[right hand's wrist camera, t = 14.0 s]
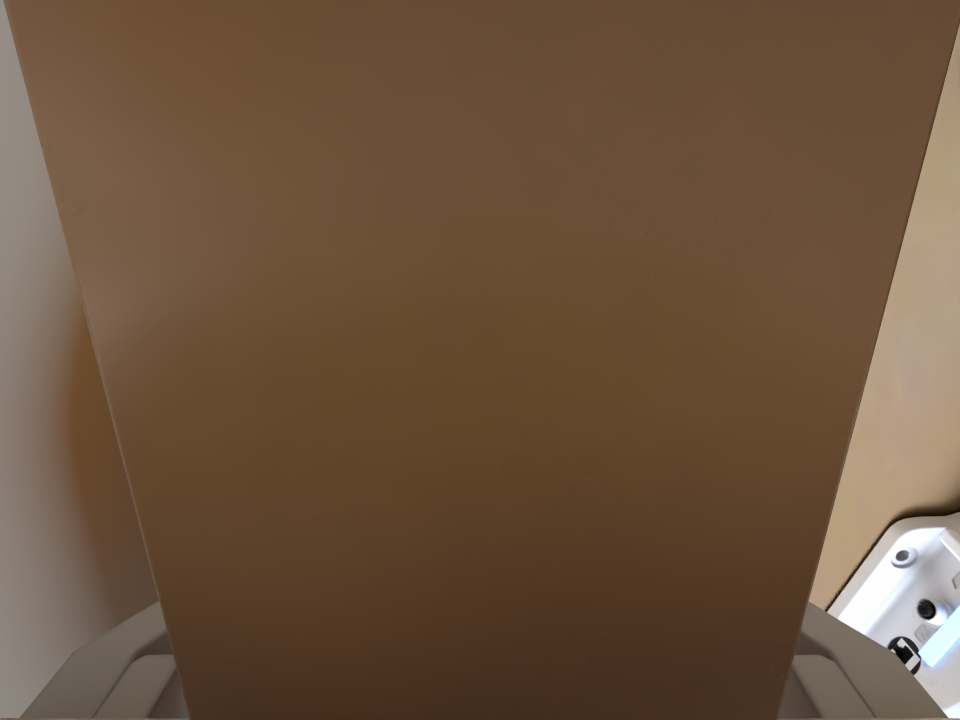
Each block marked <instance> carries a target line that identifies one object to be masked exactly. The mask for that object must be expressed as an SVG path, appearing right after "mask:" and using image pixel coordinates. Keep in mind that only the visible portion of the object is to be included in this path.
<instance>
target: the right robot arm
mask: <svg viewBox="0 0 960 720" xmlns="http://www.w3.org/2000/svg"><path fill="white" fill-rule="evenodd" d="M0 720H190V718H189V714H188V710H187V707H186V703H185V699H184V695H183V691H182V687H181V683H180V680H179V676H178V672H177V668H176V664H175V660H174V656H173V652H172V649H171V645H170V641H169V637H168V633H167V629H166V625H165V622H164V618H163V614H162V610H161V606H160V602H159V601H158V602H156V603H155V604H153V605H151V606H149V607H148V608H146V609H145V610H143V611H141V612H140V613H138V614H136V615H135V616H133V617H131V618H130V619H128V620H126V621H125V622H123V623H121V624H120V625H118V626H116V627H115V628H113V629H111V630H110V631H108V632H106V633H105V634H103V635H101V636H100V637H98V638H96V639H95V640H93V641H91V642H90V643H88V644H86V645H85V646H83V647H81V648H80V649H78V650H76V651H75V652H73V653H72V655H71V656H70V657H69V658H68V660H67V661H66V662H65V663H64V664H63V666H62V667H61V668H60V669H59V671H58V672H57V673H56V674H55V675H54V677H53V678H52V679H51V680H50V681H49V683H48V684H47V685H46V686H45V688H44V689H43V690H42V691H41V693H40V694H39V695H38V696H37V697H36V699H35V700H34V701H33V702H32V703H31V705H30V706H29V707H28V708H27V710H26V711H25V712H24V713H23V714H22V716H21V717H20V718H0ZM778 720H960V512H958V513H955V514H951V515H947V516H926V517H912V518H906V519H903V520H900V521H898V522H896V523H894V524H893V525H892V526H890V528H889V529H888V530H887V531H886V532H885V534H884V535H883V537H882V538H881V539H880V541H879V542H878V543H877V545H876V546H875V547H874V549H873V550H872V551H871V553H870V554H869V556H868V557H867V558H866V560H865V561H864V562H863V564H862V565H861V566H860V568H859V569H858V571H857V572H856V573H855V575H854V576H853V577H852V579H851V580H850V581H849V583H848V584H847V585H846V587H845V588H844V590H843V591H842V592H841V594H840V595H839V596H838V598H837V599H836V600H835V602H834V603H833V605H832V606H831V607H830V609H829V610H828V611H827V612H825V611H824V610H822V609H820V608H819V607H817V606H815V605H813V604H812V603H810V602H808V605H807V609H806V613H805V616H804V620H803V624H802V628H801V632H800V636H799V639H798V643H797V647H796V651H795V655H794V658H793V662H792V666H791V670H790V674H789V678H788V681H787V685H786V689H785V693H784V697H783V701H782V704H781V708H780V712H779V716H778Z"/></svg>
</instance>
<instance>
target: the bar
mask: <svg viewBox="0 0 960 720" xmlns="http://www.w3.org/2000/svg"><path fill="white" fill-rule="evenodd" d="M4 4H5V8H6V12H7V16H8V20H9V23H10V27H11V31H12V35H13V39H14V43H15V47H16V50H17V54H18V58H19V62H20V66H21V70H22V74H23V78H24V81H25V85H26V89H27V93H28V97H29V101H30V105H31V108H32V112H33V116H34V120H35V124H36V128H37V132H38V135H39V139H40V143H41V147H42V151H43V155H44V158H45V162H46V166H47V170H48V174H49V178H50V182H51V185H52V189H53V193H54V197H55V201H56V205H57V209H58V213H59V216H60V220H61V224H62V228H63V232H64V235H65V240H66V243H67V247H68V251H69V255H70V259H71V263H72V267H73V270H74V274H75V278H76V282H77V286H78V290H79V294H80V297H81V301H82V305H83V309H84V313H85V317H86V321H87V325H88V328H89V332H90V336H91V340H92V344H93V348H94V351H95V355H96V359H97V363H98V367H99V371H100V375H101V379H102V382H103V386H104V390H105V394H106V398H107V402H108V406H109V409H110V413H111V417H112V421H113V425H114V429H115V433H116V436H117V440H118V444H119V448H120V452H121V455H122V460H123V463H124V467H125V471H126V475H127V479H128V483H129V486H130V490H131V494H132V498H133V502H134V506H135V510H136V514H137V517H138V521H139V525H140V529H141V533H142V537H143V541H144V544H145V548H146V552H147V556H148V560H149V564H150V568H151V571H152V575H153V579H154V583H155V587H156V591H157V595H158V598H159V602H160V606H161V610H162V614H163V618H164V622H165V625H166V629H167V633H168V637H169V641H170V645H171V649H172V652H173V656H174V660H175V664H176V668H177V672H178V676H179V680H180V683H181V687H182V691H183V695H184V699H185V703H186V707H187V710H188V714H189V718H190V720H778V716H779V712H780V708H781V704H782V701H783V697H784V693H785V689H786V685H787V681H788V678H789V674H790V670H791V666H792V662H793V658H794V655H795V651H796V647H797V643H798V639H799V636H800V632H801V628H802V624H803V620H804V616H805V613H806V609H807V605H808V601H809V597H810V593H811V590H812V586H813V582H814V578H815V574H816V571H817V567H818V563H819V559H820V555H821V551H822V548H823V544H824V540H825V536H826V532H827V528H828V525H829V521H830V517H831V513H832V509H833V506H834V502H835V498H836V494H837V490H838V486H839V483H840V479H841V475H842V471H843V467H844V463H845V460H846V456H847V452H848V448H849V444H850V441H851V437H852V433H853V429H854V425H855V421H856V418H857V414H858V410H859V406H860V402H861V398H862V395H863V391H864V387H865V383H866V379H867V376H868V372H869V368H870V364H871V360H872V356H873V353H874V349H875V345H876V341H877V337H878V333H879V330H880V326H881V322H882V318H883V314H884V311H885V307H886V303H887V299H888V295H889V291H890V288H891V284H892V280H893V276H894V272H895V268H896V265H897V261H898V257H899V253H900V249H901V246H902V242H903V238H904V234H905V230H906V226H907V223H908V219H909V215H910V211H911V207H912V203H913V200H914V196H915V192H916V188H917V184H918V181H919V177H920V173H921V169H922V165H923V161H924V158H925V154H926V150H927V146H928V142H929V138H930V135H931V131H932V127H933V123H934V119H935V116H936V112H937V108H938V104H939V100H940V96H941V93H942V89H943V85H944V81H945V77H946V73H947V70H948V66H949V62H950V58H951V54H952V51H953V47H954V43H955V39H956V35H957V31H958V28H959V24H960V0H4Z"/></svg>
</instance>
